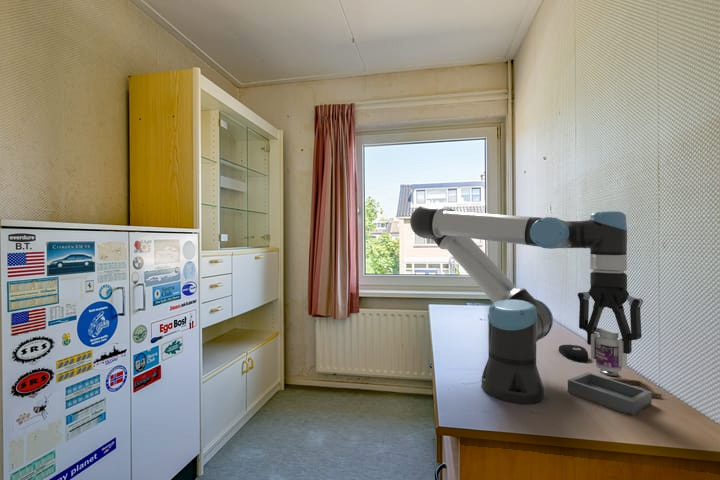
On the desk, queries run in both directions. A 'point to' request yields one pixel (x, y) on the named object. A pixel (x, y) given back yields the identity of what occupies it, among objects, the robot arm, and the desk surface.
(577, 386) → the tray
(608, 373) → the t stake
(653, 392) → the collar
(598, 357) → the pill bottle
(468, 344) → the desk surface
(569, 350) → the computer mouse
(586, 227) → the robot arm
